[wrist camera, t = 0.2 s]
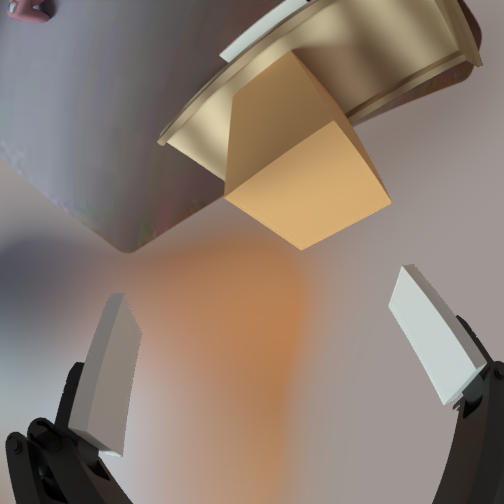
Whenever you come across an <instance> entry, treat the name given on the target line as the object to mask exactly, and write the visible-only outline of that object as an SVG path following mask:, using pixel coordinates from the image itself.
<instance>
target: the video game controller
mask: <svg viewBox="0 0 504 504" xmlns="http://www.w3.org/2000/svg"><path fill="white" fill-rule="evenodd" d="M43 1H45V0H10V3H9V5H8V8H7V13H8V15H9V16H10V17H11V18H13V19H16V20H20V21H26V22H34V23H44V22H47V21H48V20H49V19H50V18H49V16H48V15H47V14H46V13H44V12H42V11H40V10H37V9H33V6H35V5H38V4H40V3H42V2H43Z"/></svg>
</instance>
